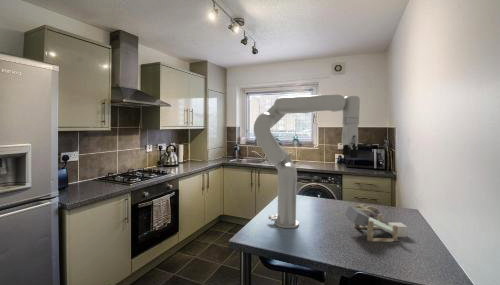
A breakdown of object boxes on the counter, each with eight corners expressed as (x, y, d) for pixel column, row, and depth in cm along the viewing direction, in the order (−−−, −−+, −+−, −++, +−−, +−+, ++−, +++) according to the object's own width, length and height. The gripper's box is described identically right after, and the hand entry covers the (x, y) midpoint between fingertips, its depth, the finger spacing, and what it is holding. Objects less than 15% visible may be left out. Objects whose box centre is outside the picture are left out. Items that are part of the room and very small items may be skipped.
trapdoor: (354, 223, 113) (358, 213, 113) (344, 213, 125) (348, 204, 125) (395, 240, 114) (399, 230, 113) (381, 229, 126) (385, 220, 125)
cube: (394, 226, 117) (407, 226, 117) (388, 222, 122) (400, 222, 122) (393, 237, 117) (406, 237, 117) (387, 232, 122) (400, 232, 122)
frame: (368, 241, 112) (368, 221, 112) (354, 227, 127) (355, 210, 127) (397, 241, 112) (398, 221, 111) (380, 227, 127) (381, 210, 127)
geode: (349, 221, 149) (352, 226, 135) (343, 206, 151) (345, 209, 137) (378, 213, 146) (384, 218, 131) (371, 197, 147) (377, 200, 133)
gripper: (337, 121, 132) (336, 154, 133) (349, 121, 115) (348, 158, 116) (351, 121, 132) (350, 154, 133) (366, 121, 115) (364, 158, 116)
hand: (349, 156), depth 124 cm, fingers open, 9 cm apart
